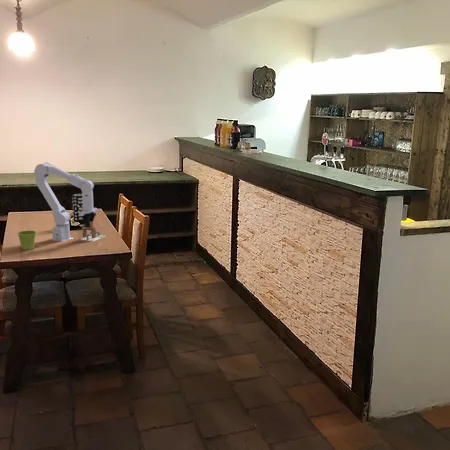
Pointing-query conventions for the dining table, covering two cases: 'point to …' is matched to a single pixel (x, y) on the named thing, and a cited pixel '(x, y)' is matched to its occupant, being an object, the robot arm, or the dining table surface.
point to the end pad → (99, 236)
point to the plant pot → (27, 239)
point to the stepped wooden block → (89, 229)
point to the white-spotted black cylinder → (77, 208)
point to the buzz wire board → (89, 238)
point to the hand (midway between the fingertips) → (88, 226)
